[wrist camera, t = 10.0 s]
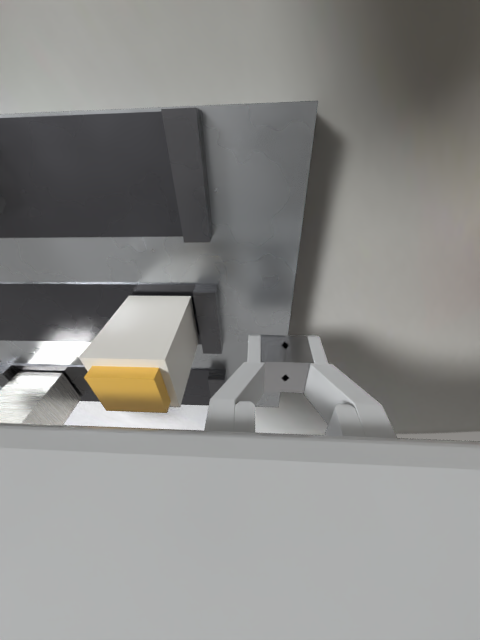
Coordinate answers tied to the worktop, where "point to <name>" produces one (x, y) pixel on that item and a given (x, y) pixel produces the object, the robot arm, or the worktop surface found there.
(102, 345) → the block
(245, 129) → the panel
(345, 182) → the worktop surface
